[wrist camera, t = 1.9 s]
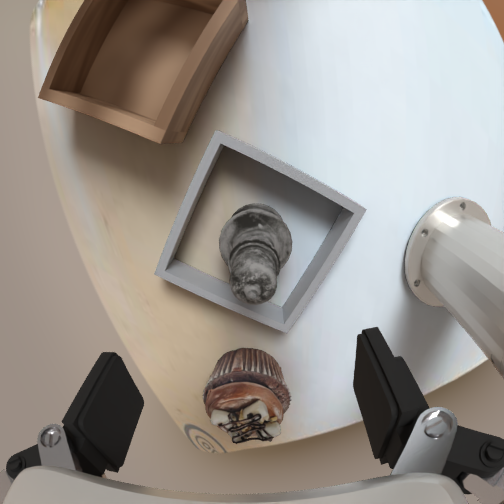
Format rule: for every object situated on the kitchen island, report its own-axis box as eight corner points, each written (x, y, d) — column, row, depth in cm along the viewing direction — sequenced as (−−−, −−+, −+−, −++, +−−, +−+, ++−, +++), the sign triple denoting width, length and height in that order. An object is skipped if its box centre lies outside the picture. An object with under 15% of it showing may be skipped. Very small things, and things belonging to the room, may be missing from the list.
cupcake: (192, 360, 33) (174, 425, 24) (262, 328, 31) (262, 399, 22) (236, 404, 36) (231, 465, 27) (301, 379, 34) (310, 445, 24)
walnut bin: (248, 20, 20) (244, -9, 14) (182, 142, 24) (160, 143, 19) (131, -9, 18) (106, -32, 12) (74, 101, 22) (38, 97, 17)
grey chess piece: (260, 272, 28) (259, 356, 17) (211, 235, 27) (178, 303, 16) (301, 227, 27) (328, 292, 16) (251, 186, 25) (243, 224, 14)
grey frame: (355, 201, 26) (366, 209, 23) (285, 316, 30) (287, 333, 27) (220, 131, 24) (215, 130, 21) (163, 261, 28) (154, 274, 26)
